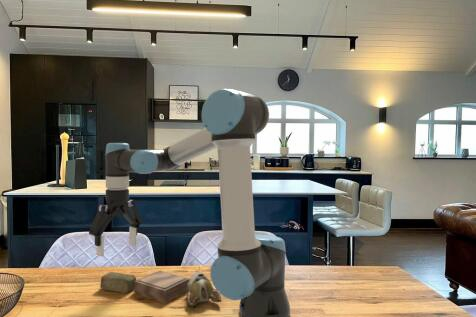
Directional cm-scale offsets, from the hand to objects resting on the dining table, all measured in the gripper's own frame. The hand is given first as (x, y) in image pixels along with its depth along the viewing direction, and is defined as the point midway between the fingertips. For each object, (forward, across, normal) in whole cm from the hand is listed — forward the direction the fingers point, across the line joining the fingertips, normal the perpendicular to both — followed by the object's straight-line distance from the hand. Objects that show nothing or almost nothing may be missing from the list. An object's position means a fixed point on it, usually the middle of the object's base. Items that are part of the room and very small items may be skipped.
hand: (117, 250), depth 122 cm
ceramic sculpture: (+14, -9, +29) cm, 34 cm away
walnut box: (+13, -7, +14) cm, 21 cm away
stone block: (+14, 0, 0) cm, 14 cm away
